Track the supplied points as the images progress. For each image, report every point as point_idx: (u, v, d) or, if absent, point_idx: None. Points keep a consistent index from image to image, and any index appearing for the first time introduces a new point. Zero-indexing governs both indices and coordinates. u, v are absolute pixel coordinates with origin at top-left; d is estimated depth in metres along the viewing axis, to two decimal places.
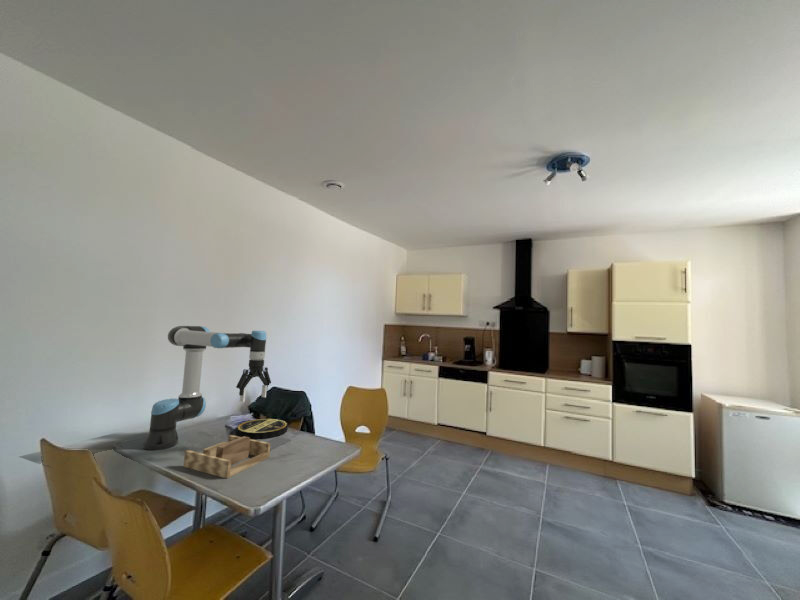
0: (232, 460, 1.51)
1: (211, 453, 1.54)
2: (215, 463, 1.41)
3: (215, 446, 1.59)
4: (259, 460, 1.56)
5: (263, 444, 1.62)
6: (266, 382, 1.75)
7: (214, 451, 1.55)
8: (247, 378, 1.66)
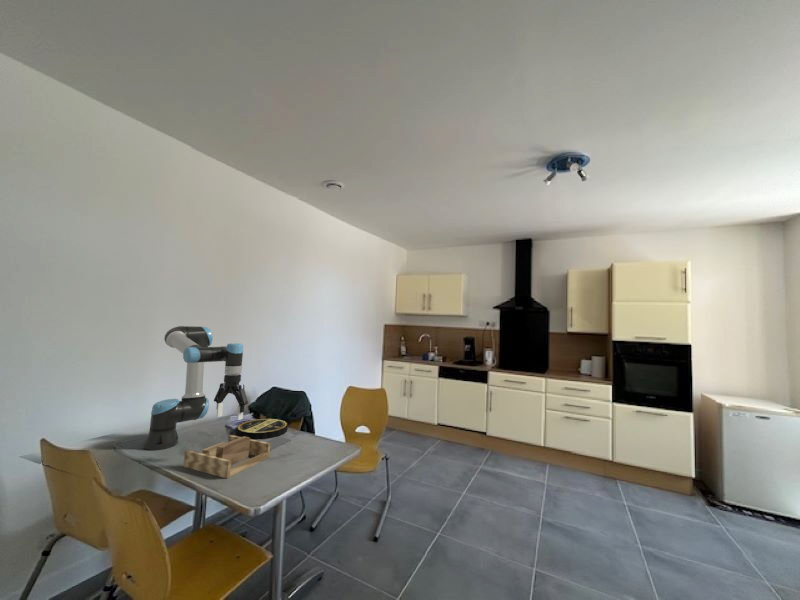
0: (232, 460, 1.51)
1: (210, 453, 1.53)
2: (215, 463, 1.41)
3: (214, 446, 1.58)
4: (259, 460, 1.56)
5: (263, 444, 1.62)
6: (239, 402, 1.54)
7: (213, 451, 1.55)
8: None
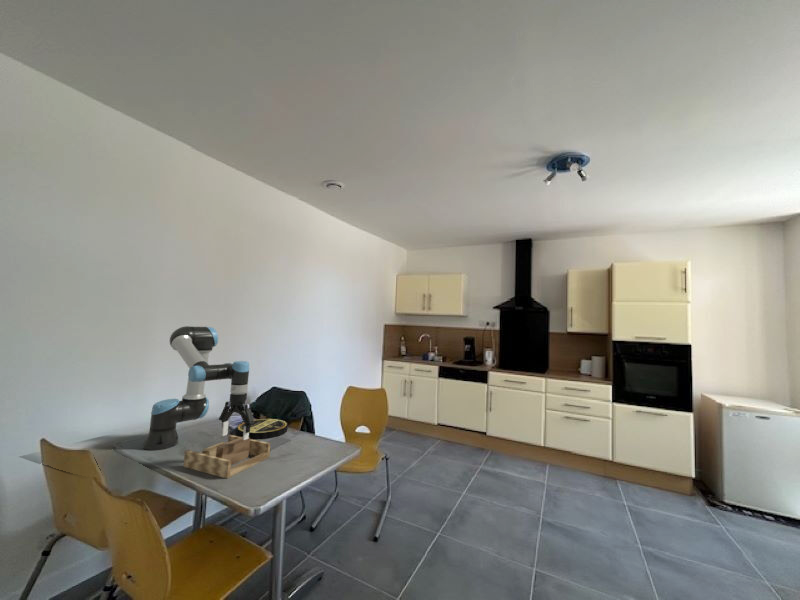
0: (232, 460, 1.51)
1: (210, 453, 1.53)
2: (215, 463, 1.41)
3: (214, 447, 1.58)
4: (259, 460, 1.56)
5: (263, 444, 1.62)
6: (245, 422, 1.52)
7: (213, 451, 1.55)
8: None
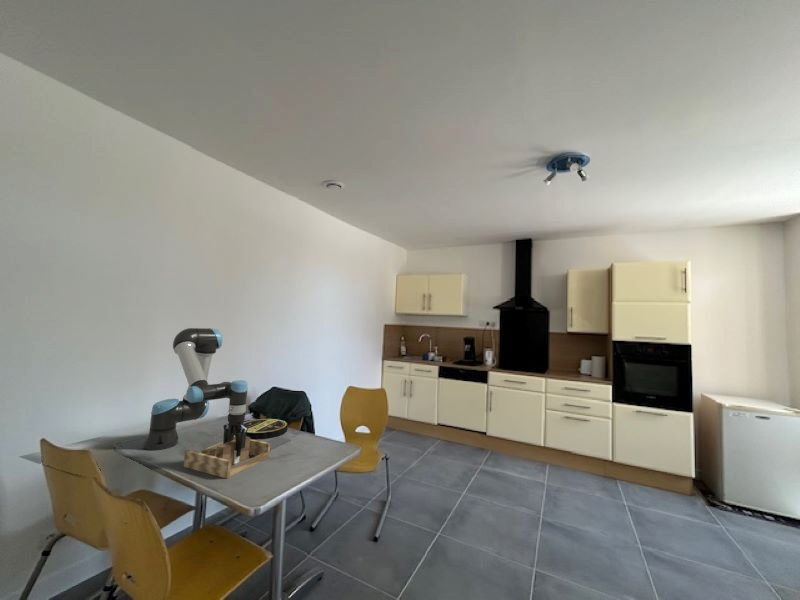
0: (232, 460, 1.51)
1: (210, 454, 1.53)
2: (215, 463, 1.41)
3: (213, 447, 1.58)
4: (259, 460, 1.56)
5: (263, 444, 1.62)
6: (236, 446, 1.52)
7: (213, 452, 1.54)
8: None
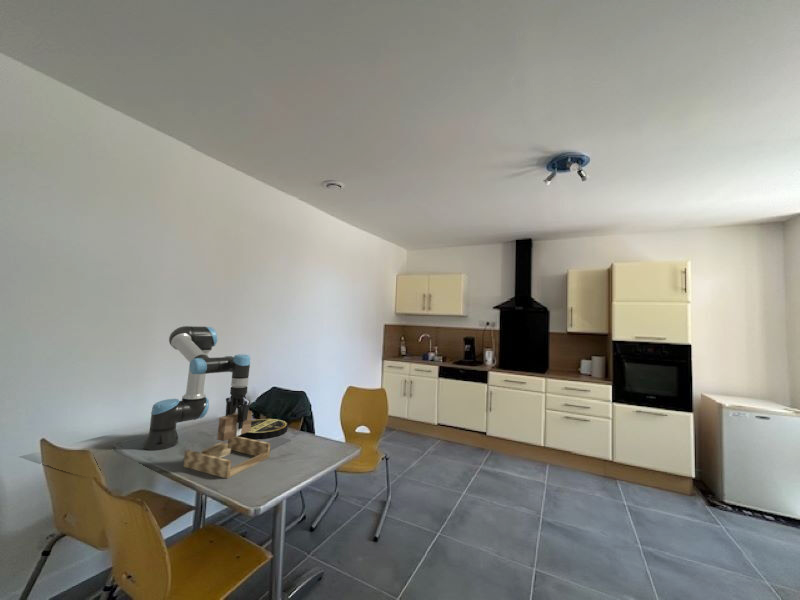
0: (234, 432, 1.53)
1: (210, 454, 1.52)
2: (215, 463, 1.41)
3: (213, 447, 1.57)
4: (259, 460, 1.56)
5: (263, 444, 1.62)
6: (238, 418, 1.54)
7: (213, 452, 1.54)
8: None
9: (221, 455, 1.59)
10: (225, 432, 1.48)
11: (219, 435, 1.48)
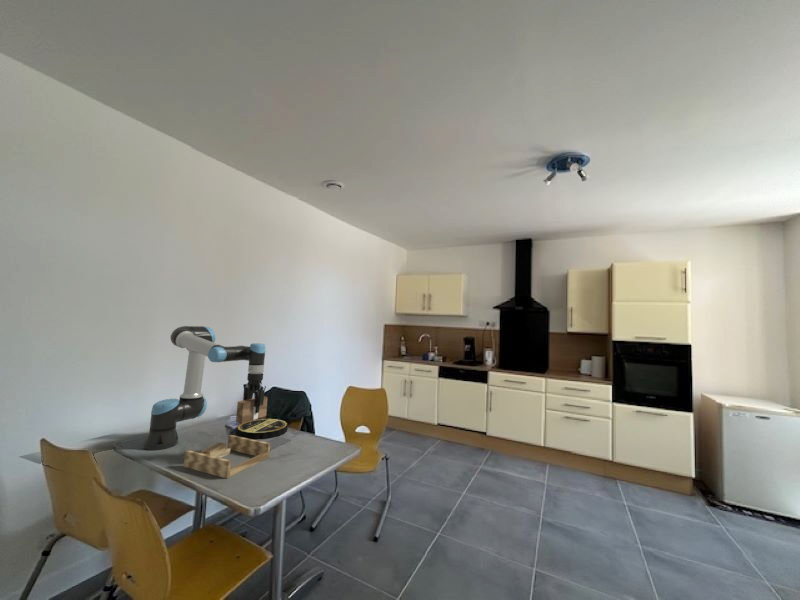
0: (251, 416, 1.62)
1: (211, 454, 1.53)
2: (215, 463, 1.41)
3: (212, 447, 1.57)
4: (259, 460, 1.56)
5: (263, 444, 1.62)
6: (255, 402, 1.63)
7: (213, 452, 1.54)
8: None
9: (221, 455, 1.59)
10: (243, 415, 1.57)
11: (237, 418, 1.58)
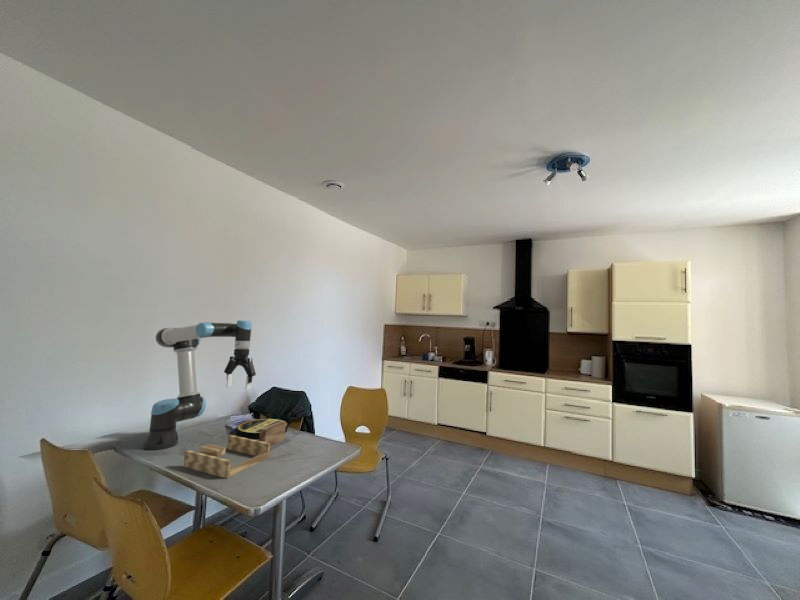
0: (272, 441, 1.77)
1: None
2: (215, 463, 1.41)
3: (213, 447, 1.57)
4: (259, 460, 1.56)
5: (263, 444, 1.62)
6: (247, 373, 1.70)
7: None
8: None
9: None
10: (265, 441, 1.72)
11: None
